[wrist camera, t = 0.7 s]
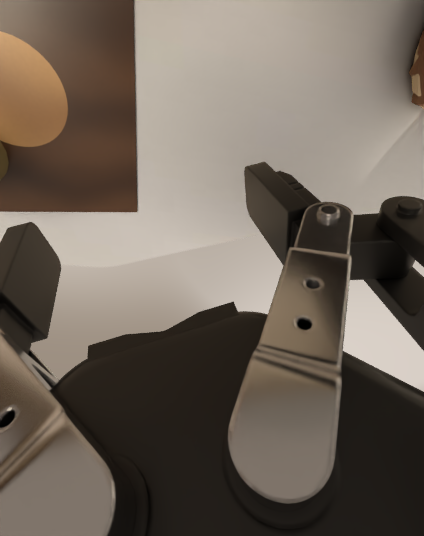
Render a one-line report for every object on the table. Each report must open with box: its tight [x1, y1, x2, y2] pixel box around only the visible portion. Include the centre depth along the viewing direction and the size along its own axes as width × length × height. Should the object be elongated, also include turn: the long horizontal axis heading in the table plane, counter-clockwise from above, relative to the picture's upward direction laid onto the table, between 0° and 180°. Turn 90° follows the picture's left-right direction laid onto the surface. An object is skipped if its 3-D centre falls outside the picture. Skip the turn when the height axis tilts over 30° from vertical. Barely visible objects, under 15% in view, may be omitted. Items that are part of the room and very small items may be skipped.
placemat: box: [0, 0, 137, 212], centre depth 21 cm, size 20×18×1 cm
